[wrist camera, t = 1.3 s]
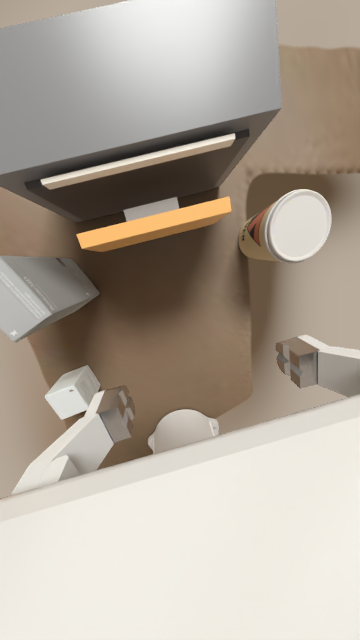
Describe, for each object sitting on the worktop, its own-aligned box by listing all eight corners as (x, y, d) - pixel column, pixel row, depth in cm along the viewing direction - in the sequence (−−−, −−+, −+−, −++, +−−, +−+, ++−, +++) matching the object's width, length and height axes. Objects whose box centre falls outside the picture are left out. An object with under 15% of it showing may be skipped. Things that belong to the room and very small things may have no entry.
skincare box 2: (62, 373, 41) (42, 396, 34) (88, 363, 41) (73, 384, 34) (76, 394, 43) (60, 420, 36) (101, 385, 43) (90, 409, 36)
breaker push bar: (213, 224, 26) (231, 211, 20) (101, 252, 26) (81, 248, 19) (209, 200, 25) (227, 178, 19) (93, 228, 25) (69, 216, 18)
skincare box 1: (101, 293, 37) (60, 314, 22) (73, 313, 37) (14, 348, 22) (70, 255, 34) (-1, 249, 19) (40, 277, 35) (-52, 288, 20)
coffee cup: (253, 200, 35) (299, 170, 23) (289, 230, 37) (347, 215, 25) (224, 246, 36) (254, 239, 25) (260, 272, 39) (302, 276, 27)
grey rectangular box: (220, 193, 34) (282, 122, 16) (78, 228, 33) (-10, 192, 16) (210, 131, 31) (274, -32, 14) (55, 168, 30) (-81, 46, 13)
